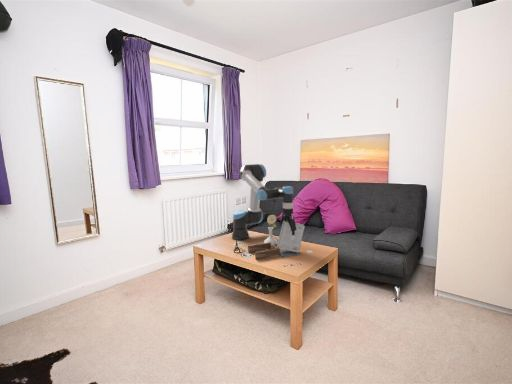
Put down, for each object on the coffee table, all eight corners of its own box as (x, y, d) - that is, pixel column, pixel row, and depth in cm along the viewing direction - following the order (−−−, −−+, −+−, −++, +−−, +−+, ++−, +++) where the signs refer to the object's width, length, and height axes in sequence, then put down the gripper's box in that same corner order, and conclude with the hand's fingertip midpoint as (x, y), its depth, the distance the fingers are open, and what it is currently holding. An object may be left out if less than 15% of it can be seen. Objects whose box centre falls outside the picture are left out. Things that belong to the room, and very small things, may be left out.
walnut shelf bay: (248, 252, 203) (247, 245, 202) (270, 248, 209) (270, 242, 209) (256, 259, 187) (255, 252, 187) (280, 255, 194) (279, 248, 193)
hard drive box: (296, 250, 203) (303, 224, 202) (298, 253, 195) (305, 226, 194) (276, 245, 202) (283, 219, 202) (277, 247, 195) (284, 221, 194)
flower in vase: (261, 243, 221) (260, 213, 218) (271, 241, 228) (271, 211, 224) (271, 248, 210) (270, 216, 207) (282, 244, 217) (281, 214, 214)
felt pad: (276, 251, 202) (276, 251, 202) (292, 249, 207) (292, 248, 207) (283, 257, 191) (283, 256, 191) (300, 254, 196) (300, 253, 196)
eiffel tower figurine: (235, 256, 196) (234, 238, 194) (225, 253, 202) (224, 236, 201) (248, 250, 207) (248, 233, 205) (239, 248, 214) (238, 231, 212)
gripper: (275, 205, 205) (276, 233, 207) (291, 211, 182) (291, 242, 184) (284, 204, 207) (284, 231, 210) (301, 210, 184) (301, 240, 187)
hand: (288, 236), depth 197 cm, fingers open, 13 cm apart
